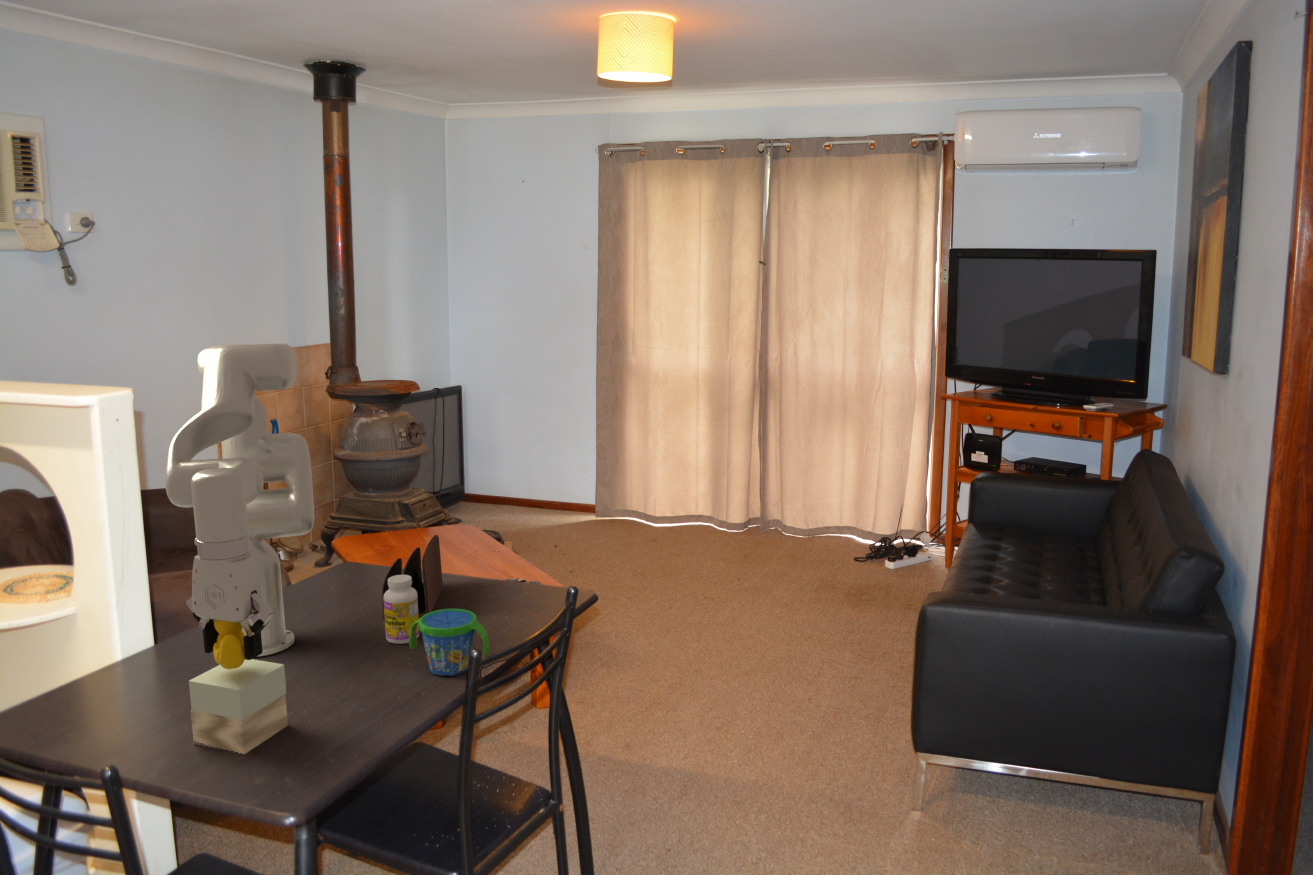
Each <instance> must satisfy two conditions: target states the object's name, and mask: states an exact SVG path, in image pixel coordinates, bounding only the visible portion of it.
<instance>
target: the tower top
mask: <svg viewBox="0 0 1313 875" xmlns="http://www.w3.org/2000/svg"><path fill="white" fill-rule="evenodd" d="M286 683H287V682H286V671H285V664H284V663H278V662H272V661H271V662H270V661H265V660H258V659H255V658H253V659H251V660H244V662H243V664H242V665H241V666H240V667H238V668H235V669H225V668H223V667H222V666H221V665H220V664H218V665H216V666H215V667H213V668H211V669H209V670H207V671H205V672H203V673H201V674H199V675H197V676H196V677H194V678H191V679H189V680H188V687H189V688H188V689H189V696H190V697H189V698H190V699H189V700H190V707H191V708H190V710H193V711H198V712H203V713H208V714H213V715H218V716H223V717H228V718H234V719H239V720H243V719H244V718H246V717H248V716H249V715H251V714H253V713H254V712H256V711H258V710H259V709H261V708H263V707H264V706H266V705H268V704H269V703H271V702H272V701H274V700H276V699H277V698H279V697H281V696H282V695H284V694H285V695H286V694H287V686H286V685H287V684H286Z"/></svg>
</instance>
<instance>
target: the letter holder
mask: <svg viewBox="0 0 1313 875" xmlns="http://www.w3.org/2000/svg"><path fill="white" fill-rule="evenodd" d="M440 548H441V546H440V538H439V535H438V534H434V535H433V536H432V537H431V538H430V540H429V541H428V543H427V546H426V547H425V549H424V553H423V555H421V548H420V547H416V548H414V549H413V551H412V552H411V554H410V555H409V557H408V559H407V561H406V563H405V565H404V567H403V561H402V560H403V559H402V558H400V557H398V558H397V559H396V560H395V561H394V562H393V563H392V565H390V566H391V567H389V569H388V570H387V572H386V574H385V577H384V578H383V579H384V580H383V582H382V585H381V598H382V599H381V600H382V607H381V608H382V620H385V615H384V594H385V592H386V591H387V590H389V587H388V578H390V577H392V576H395V575H409V576H411V578H412V584H411V587H412V588H414V589H415V590H416V591H417V596H418V617H419V619H420V618H421V617H422V616H424V615H425V614H427V613H430V612H433V609H434V607H435V605H436V602H437V600H438V598H439V596H440V594H441V591H442V589H443V588H444V583H443V582H444V581H443V573H442V571H443V570H442V559H441V557H442V556H441V549H440ZM421 556H422V558H421Z"/></svg>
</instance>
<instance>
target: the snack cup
mask: <svg viewBox="0 0 1313 875" xmlns="http://www.w3.org/2000/svg"><path fill="white" fill-rule="evenodd" d="M477 618H478V617H477V615H476V614H475V613H474V612H472V611H470V610H467V609H462V608H443V609H436V610H434V611H433V610H432V611H431V612H430V613H427V614H425V615H424V616H422V617H421V618H419V619H418V620H417V621H416V622H414V623H413V625H412V626H411V629H410V633H409V643H408V645H409V648H410V650H415V649H417V647H418V645H419V640H418V638H417V636H416V627H417V624H419V632H420V633H422V634H421V635H422V639H423V645H424V650H425V654H426V660H427V664H428V668H429V671H430V672H431V673H432V674H433V675H438V676H448V677H449V676H450V677H454V676H455V675H460V674H462V673H464V672H467V671H468V670H467V666H468V658H469V655H470V653H471V652H472V653H473V646H474V645H473V644H474V636H475V632H477V634H478V636H479V637H480V639H481V640H482V652H483V655H484V657H485V658H486V656H487V655H488V653H489V651H490V645H491V644H490V639H489V636H488V633H487V631H486V628H485V626H483V625H482V623H480V622H479V621H478V619H477Z"/></svg>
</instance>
